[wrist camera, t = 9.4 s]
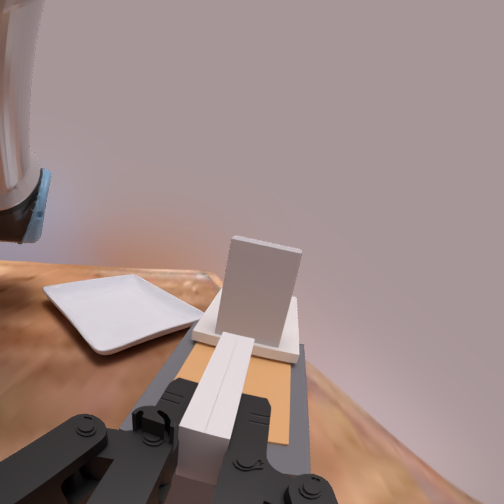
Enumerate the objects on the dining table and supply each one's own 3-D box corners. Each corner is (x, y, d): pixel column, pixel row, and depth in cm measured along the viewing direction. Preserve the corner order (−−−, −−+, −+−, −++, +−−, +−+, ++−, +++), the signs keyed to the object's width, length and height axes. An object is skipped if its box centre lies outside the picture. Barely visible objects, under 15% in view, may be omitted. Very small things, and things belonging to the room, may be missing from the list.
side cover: (224, 288, 43) (238, 218, 41) (294, 303, 42) (311, 233, 40) (191, 339, 28) (207, 234, 26) (296, 363, 27) (326, 260, 25)
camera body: (192, 373, 37) (201, 310, 35) (284, 394, 36) (303, 333, 34) (128, 493, 17) (118, 426, 15) (274, 531, 16) (311, 474, 14)
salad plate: (208, 331, 50) (211, 312, 49) (100, 372, 32) (98, 350, 32) (133, 287, 61) (134, 272, 60) (41, 304, 43) (40, 286, 42)
